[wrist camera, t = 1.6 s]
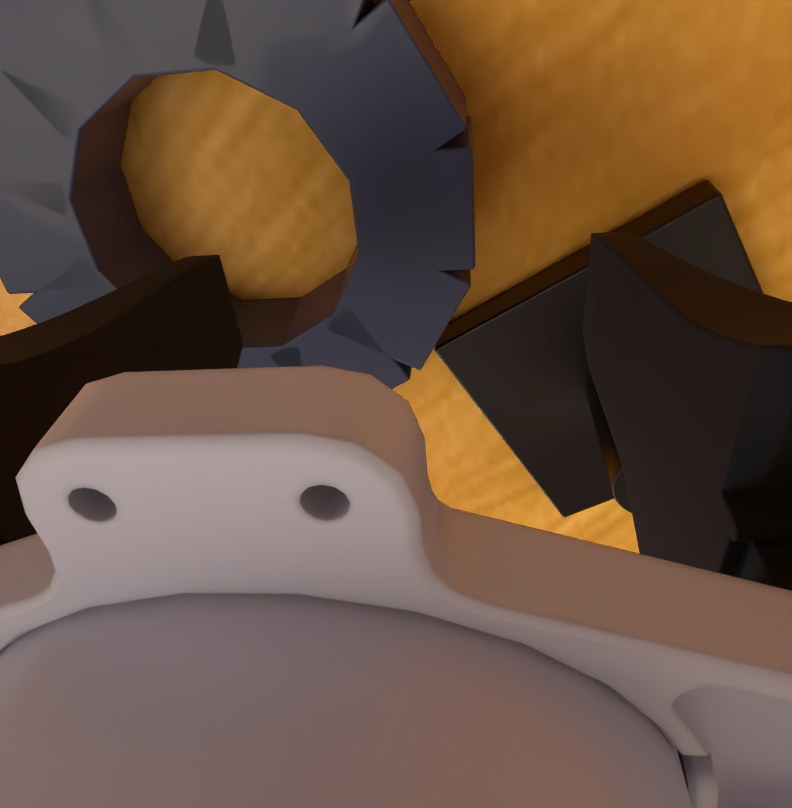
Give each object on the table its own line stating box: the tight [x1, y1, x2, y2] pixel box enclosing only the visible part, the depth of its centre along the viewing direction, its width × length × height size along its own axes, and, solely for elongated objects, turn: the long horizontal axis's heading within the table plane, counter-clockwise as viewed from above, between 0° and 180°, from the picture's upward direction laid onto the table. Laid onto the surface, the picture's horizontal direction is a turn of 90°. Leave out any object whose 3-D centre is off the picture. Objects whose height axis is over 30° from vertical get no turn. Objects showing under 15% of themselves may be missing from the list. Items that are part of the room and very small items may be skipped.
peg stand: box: [435, 180, 763, 517], centre depth 19 cm, size 9×9×6 cm
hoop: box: [0, 0, 475, 389], centre depth 18 cm, size 13×13×3 cm
